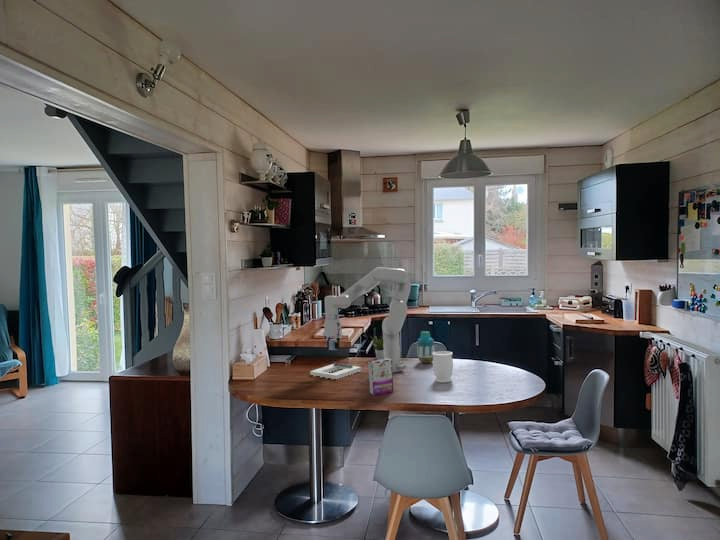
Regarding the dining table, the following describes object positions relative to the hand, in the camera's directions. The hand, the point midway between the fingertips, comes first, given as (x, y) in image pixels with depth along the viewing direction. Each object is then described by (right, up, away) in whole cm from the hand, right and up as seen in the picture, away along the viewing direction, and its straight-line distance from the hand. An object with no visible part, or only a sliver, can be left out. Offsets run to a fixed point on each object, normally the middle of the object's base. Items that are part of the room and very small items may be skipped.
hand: (333, 347), depth 287 cm
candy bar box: (+26, -16, -41) cm, 51 cm away
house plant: (+28, -13, +34) cm, 46 cm away
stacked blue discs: (0, -1, 0) cm, 1 cm away
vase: (+57, -12, +18) cm, 60 cm away
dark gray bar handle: (+5, -12, +7) cm, 15 cm away
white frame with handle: (+1, -15, +2) cm, 15 cm away
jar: (+60, -14, -25) cm, 66 cm away
